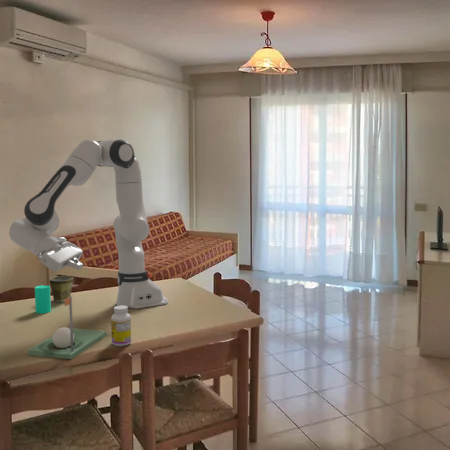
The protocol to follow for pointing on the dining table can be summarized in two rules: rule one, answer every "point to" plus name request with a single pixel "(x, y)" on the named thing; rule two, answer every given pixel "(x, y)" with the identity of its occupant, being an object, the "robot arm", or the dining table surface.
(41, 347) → the green
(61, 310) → the dining table surface
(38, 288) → the candle
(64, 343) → the ball
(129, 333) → the supplement bottle
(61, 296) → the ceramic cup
